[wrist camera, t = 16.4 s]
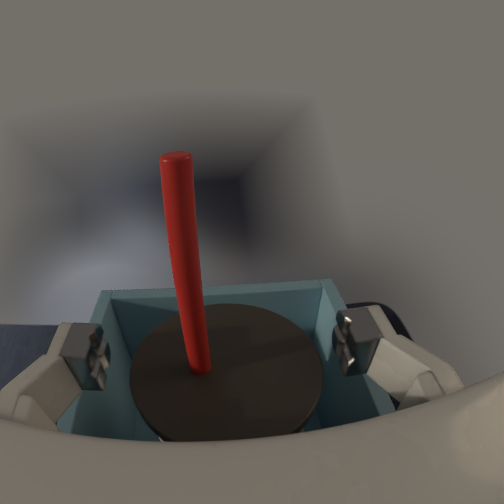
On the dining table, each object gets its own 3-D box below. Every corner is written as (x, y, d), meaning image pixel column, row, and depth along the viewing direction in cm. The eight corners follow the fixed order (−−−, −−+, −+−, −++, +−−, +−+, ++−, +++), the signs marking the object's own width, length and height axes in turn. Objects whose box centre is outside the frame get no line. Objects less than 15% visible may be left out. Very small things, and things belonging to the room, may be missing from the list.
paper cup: (280, 422, 18) (314, 128, 10) (299, 510, 13) (440, 210, 4) (180, 429, 18) (111, 137, 9) (183, 519, 12) (-4, 232, 3)
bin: (312, 370, 23) (331, 278, 19) (367, 562, 10) (447, 540, 5) (134, 380, 22) (101, 290, 17) (120, 579, 8) (35, 566, 4)
